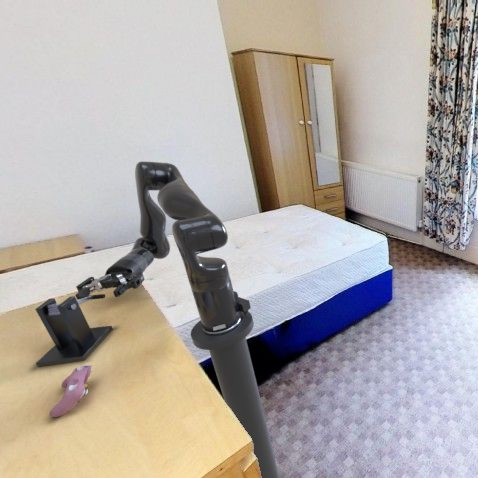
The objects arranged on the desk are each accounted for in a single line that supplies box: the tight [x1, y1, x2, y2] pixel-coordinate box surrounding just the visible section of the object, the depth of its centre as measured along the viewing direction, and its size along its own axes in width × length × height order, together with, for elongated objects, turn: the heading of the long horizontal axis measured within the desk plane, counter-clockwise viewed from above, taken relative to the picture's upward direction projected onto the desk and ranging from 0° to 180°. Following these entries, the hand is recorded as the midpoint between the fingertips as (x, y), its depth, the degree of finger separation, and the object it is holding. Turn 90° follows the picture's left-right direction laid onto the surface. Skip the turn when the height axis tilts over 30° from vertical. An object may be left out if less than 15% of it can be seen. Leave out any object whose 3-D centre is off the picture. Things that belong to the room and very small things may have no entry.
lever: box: [47, 293, 106, 315], centre depth 83 cm, size 13×6×2 cm, turn 16°
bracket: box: [34, 295, 114, 368], centre depth 80 cm, size 12×9×14 cm
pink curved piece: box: [49, 365, 92, 418], centre depth 68 cm, size 10×5×7 cm, turn 34°
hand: (97, 296), depth 90 cm, fingers open, 8 cm apart
